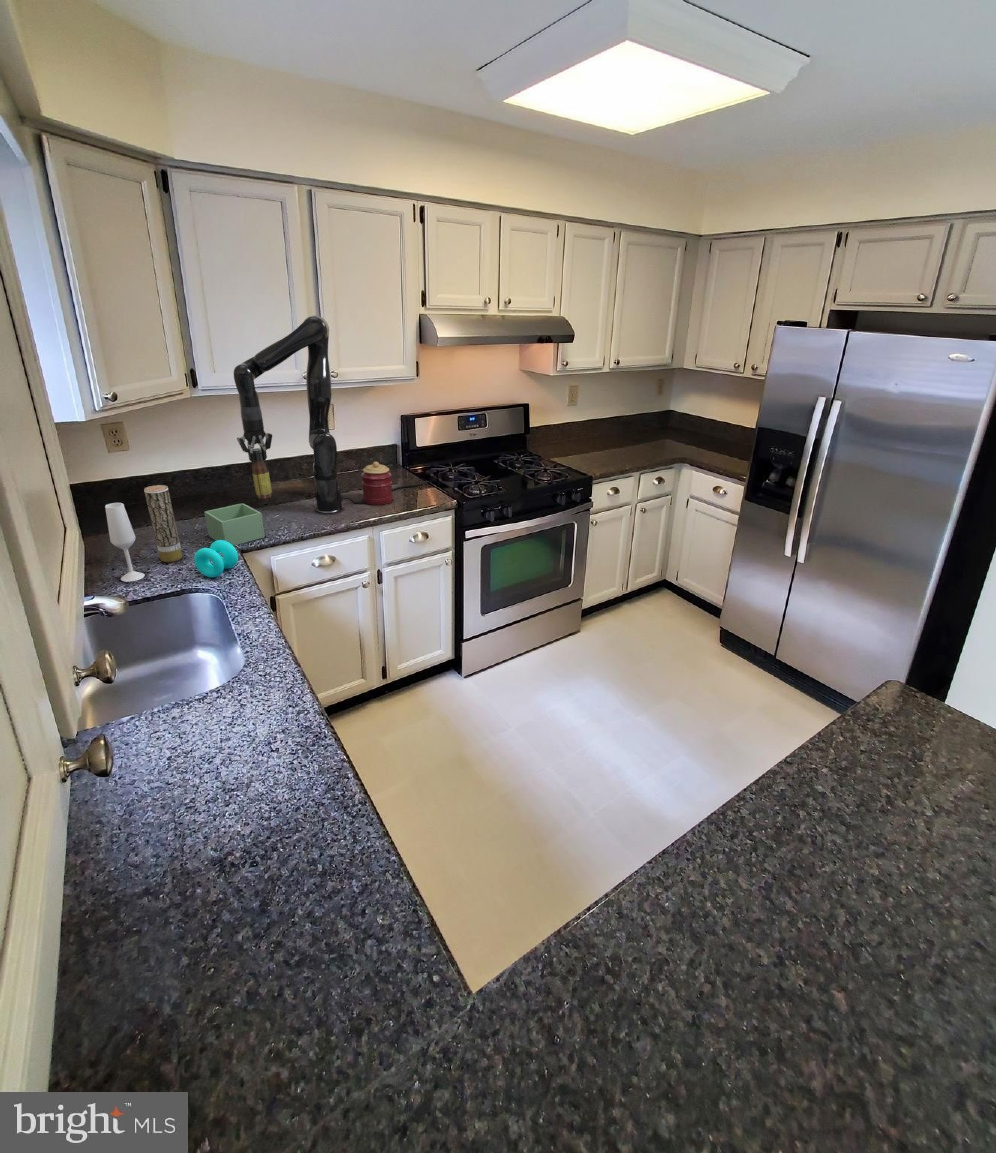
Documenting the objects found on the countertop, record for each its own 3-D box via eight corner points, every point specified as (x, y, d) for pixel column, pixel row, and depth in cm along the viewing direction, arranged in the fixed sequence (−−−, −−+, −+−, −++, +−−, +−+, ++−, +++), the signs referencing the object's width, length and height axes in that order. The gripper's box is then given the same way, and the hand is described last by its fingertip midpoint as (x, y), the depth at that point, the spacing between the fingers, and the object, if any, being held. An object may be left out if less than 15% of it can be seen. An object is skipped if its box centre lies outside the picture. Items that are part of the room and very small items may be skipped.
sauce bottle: (275, 495, 248) (269, 447, 239) (268, 500, 242) (261, 451, 234) (260, 494, 248) (253, 447, 240) (253, 499, 243) (245, 450, 234)
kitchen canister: (356, 501, 263) (353, 461, 255) (377, 494, 273) (375, 456, 265) (377, 507, 256) (375, 467, 249) (398, 500, 266) (397, 461, 258)
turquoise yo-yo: (195, 576, 192) (189, 548, 187) (216, 564, 200) (211, 536, 196) (222, 581, 189) (216, 552, 185) (242, 568, 198) (237, 540, 194)
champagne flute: (119, 575, 190) (100, 504, 180) (143, 570, 194) (125, 500, 183) (122, 583, 185) (102, 510, 175) (146, 578, 189) (128, 506, 179)
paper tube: (160, 564, 198) (143, 492, 187) (160, 556, 204) (144, 486, 193) (183, 561, 201) (168, 490, 190) (182, 553, 207) (167, 484, 196)
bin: (246, 526, 231) (243, 503, 227) (264, 537, 223) (261, 513, 218) (208, 535, 222) (204, 511, 218) (226, 547, 213) (221, 522, 209)
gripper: (238, 421, 224) (245, 466, 231) (273, 416, 233) (279, 459, 241) (229, 418, 229) (236, 462, 236) (264, 413, 238) (270, 456, 245)
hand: (258, 460), depth 238 cm, fingers closed on sauce bottle, 4 cm apart
